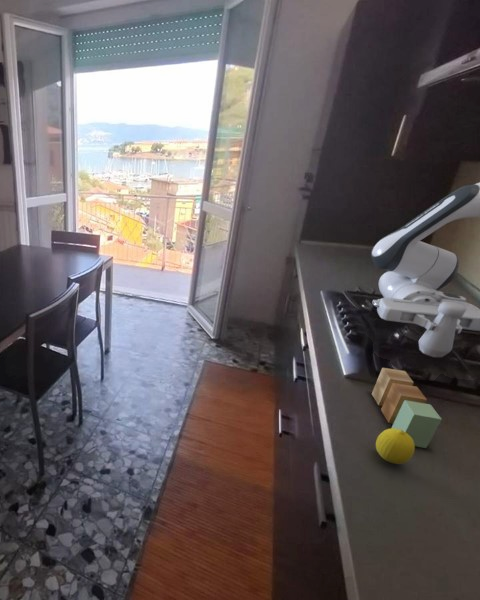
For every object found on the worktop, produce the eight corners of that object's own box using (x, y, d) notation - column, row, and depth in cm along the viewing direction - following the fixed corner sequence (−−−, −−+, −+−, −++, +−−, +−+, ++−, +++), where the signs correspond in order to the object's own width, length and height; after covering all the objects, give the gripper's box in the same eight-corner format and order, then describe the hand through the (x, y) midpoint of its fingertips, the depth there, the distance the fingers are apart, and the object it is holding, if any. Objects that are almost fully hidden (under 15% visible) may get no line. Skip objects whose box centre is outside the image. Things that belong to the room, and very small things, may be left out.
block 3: (391, 427, 79) (404, 399, 76) (416, 432, 78) (430, 404, 74) (399, 443, 75) (414, 414, 72) (426, 448, 74) (442, 419, 70)
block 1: (371, 393, 89) (382, 367, 86) (393, 397, 88) (405, 370, 84) (378, 405, 85) (389, 378, 82) (401, 409, 84) (413, 382, 81)
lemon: (410, 476, 68) (427, 445, 65) (375, 467, 70) (389, 437, 67) (399, 453, 73) (413, 424, 69) (366, 446, 75) (379, 417, 71)
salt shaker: (454, 359, 83) (480, 310, 77) (429, 360, 83) (453, 310, 77) (432, 345, 88) (455, 298, 82) (409, 346, 88) (429, 299, 82)
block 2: (380, 409, 84) (392, 382, 81) (404, 413, 83) (417, 386, 79) (388, 423, 80) (401, 395, 77) (412, 427, 79) (427, 399, 75)
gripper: (373, 288, 95) (395, 311, 83) (471, 297, 89) (510, 323, 77) (366, 309, 98) (385, 334, 86) (460, 319, 91) (496, 347, 80)
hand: (445, 329), depth 81 cm, fingers closed on salt shaker, 3 cm apart
